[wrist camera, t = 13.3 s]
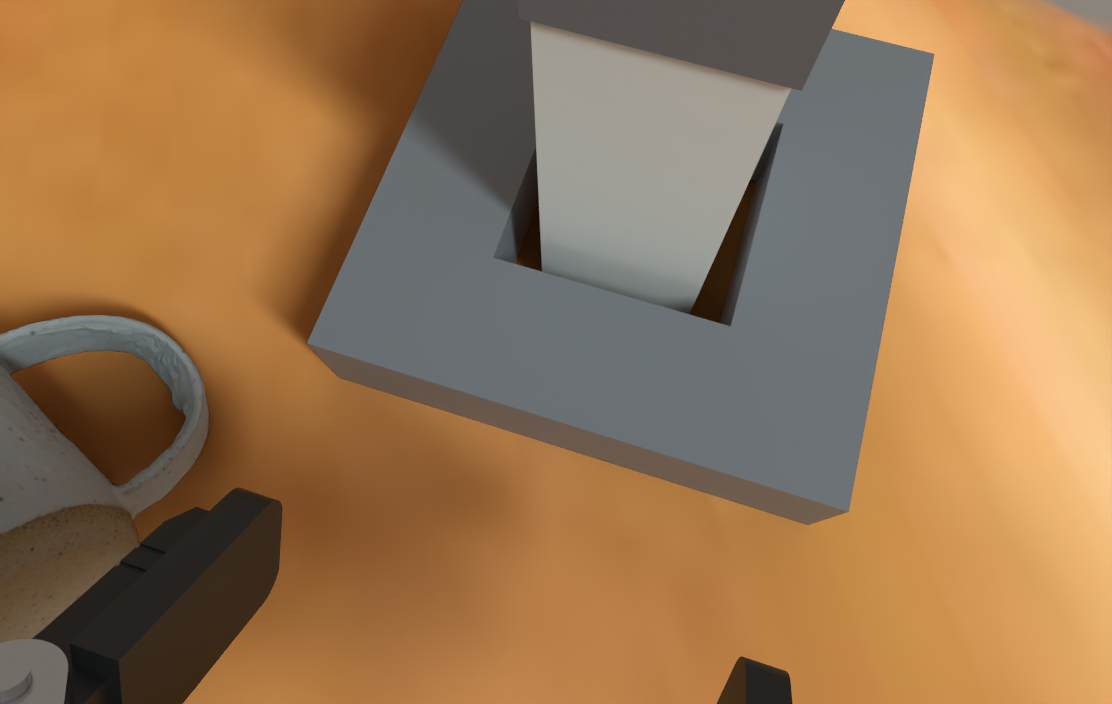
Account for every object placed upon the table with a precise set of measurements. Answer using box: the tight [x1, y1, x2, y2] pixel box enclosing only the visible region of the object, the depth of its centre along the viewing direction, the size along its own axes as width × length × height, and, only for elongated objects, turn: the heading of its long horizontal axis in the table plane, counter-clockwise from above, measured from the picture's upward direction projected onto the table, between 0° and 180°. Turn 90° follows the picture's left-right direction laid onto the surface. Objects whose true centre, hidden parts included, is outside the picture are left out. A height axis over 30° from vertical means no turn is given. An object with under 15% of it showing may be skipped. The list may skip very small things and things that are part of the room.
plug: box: [518, 0, 845, 314], centre depth 17 cm, size 5×5×13 cm
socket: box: [307, 0, 934, 525], centre depth 21 cm, size 14×14×4 cm
